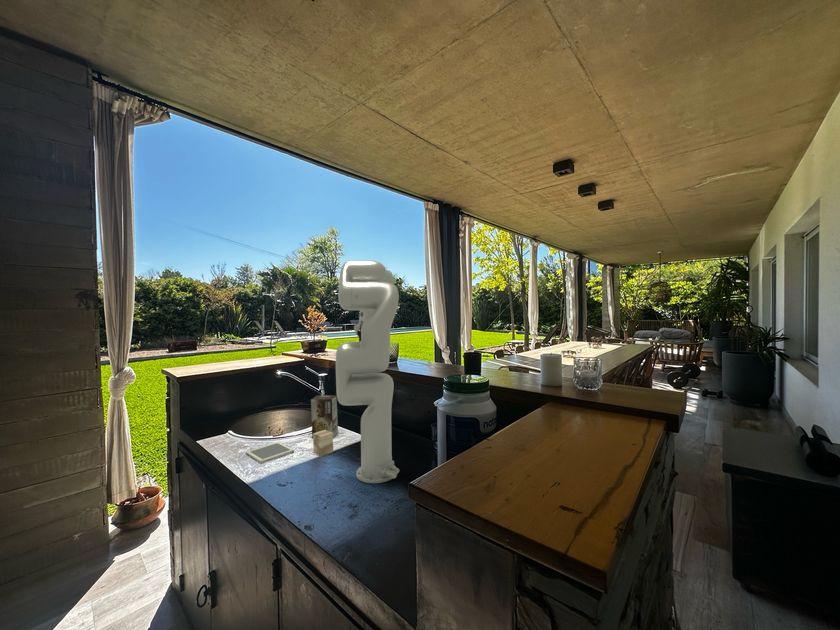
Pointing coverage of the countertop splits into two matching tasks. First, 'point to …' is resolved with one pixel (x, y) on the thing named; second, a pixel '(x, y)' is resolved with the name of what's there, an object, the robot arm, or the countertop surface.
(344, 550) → the countertop surface
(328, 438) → the block
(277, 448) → the mat
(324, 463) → the countertop surface
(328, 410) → the coffee box
